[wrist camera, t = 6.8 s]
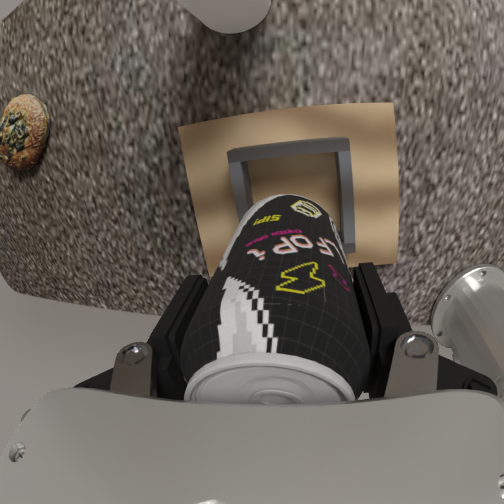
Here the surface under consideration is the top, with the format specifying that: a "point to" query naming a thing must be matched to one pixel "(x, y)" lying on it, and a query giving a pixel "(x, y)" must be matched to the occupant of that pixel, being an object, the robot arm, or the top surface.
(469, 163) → the top surface
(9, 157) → the bread roll
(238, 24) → the cylindrical container
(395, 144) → the board
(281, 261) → the beverage can
